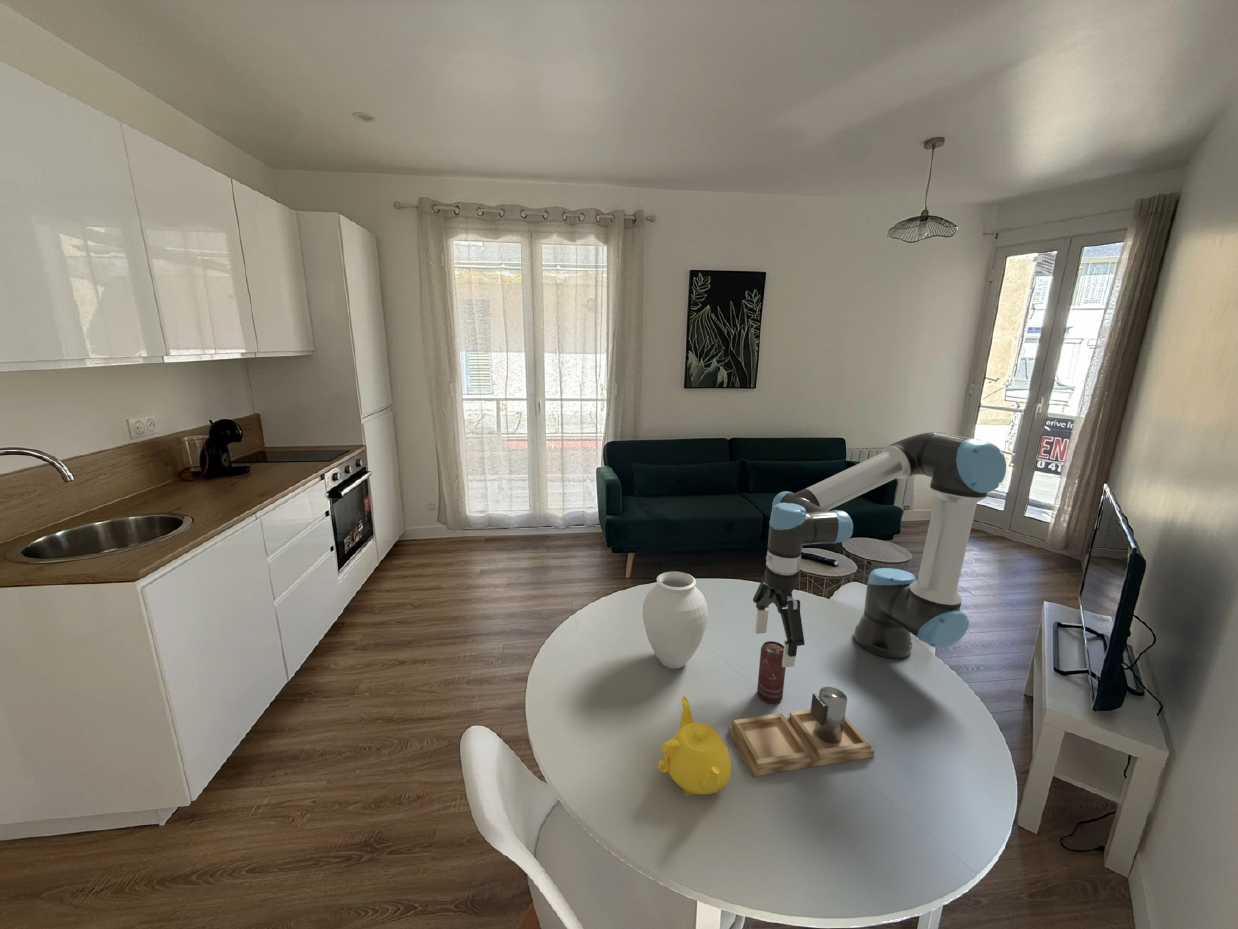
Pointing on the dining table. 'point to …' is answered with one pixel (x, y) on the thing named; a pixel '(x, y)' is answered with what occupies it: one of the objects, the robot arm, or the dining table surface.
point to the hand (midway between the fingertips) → (773, 648)
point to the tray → (793, 743)
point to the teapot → (696, 757)
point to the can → (771, 673)
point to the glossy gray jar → (829, 714)
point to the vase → (675, 618)
